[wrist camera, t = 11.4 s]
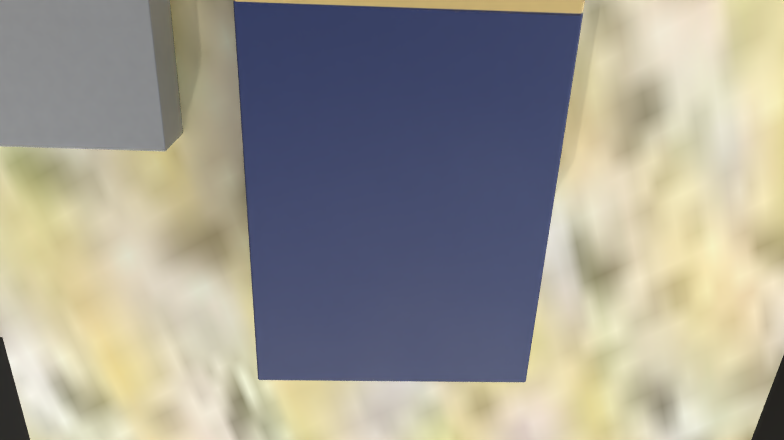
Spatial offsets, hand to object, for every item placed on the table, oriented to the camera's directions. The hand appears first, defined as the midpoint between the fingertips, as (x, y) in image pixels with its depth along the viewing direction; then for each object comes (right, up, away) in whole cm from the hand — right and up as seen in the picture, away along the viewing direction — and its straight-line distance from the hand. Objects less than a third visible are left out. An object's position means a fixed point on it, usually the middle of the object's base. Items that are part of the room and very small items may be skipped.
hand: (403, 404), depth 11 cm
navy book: (0, +4, +10) cm, 11 cm away
